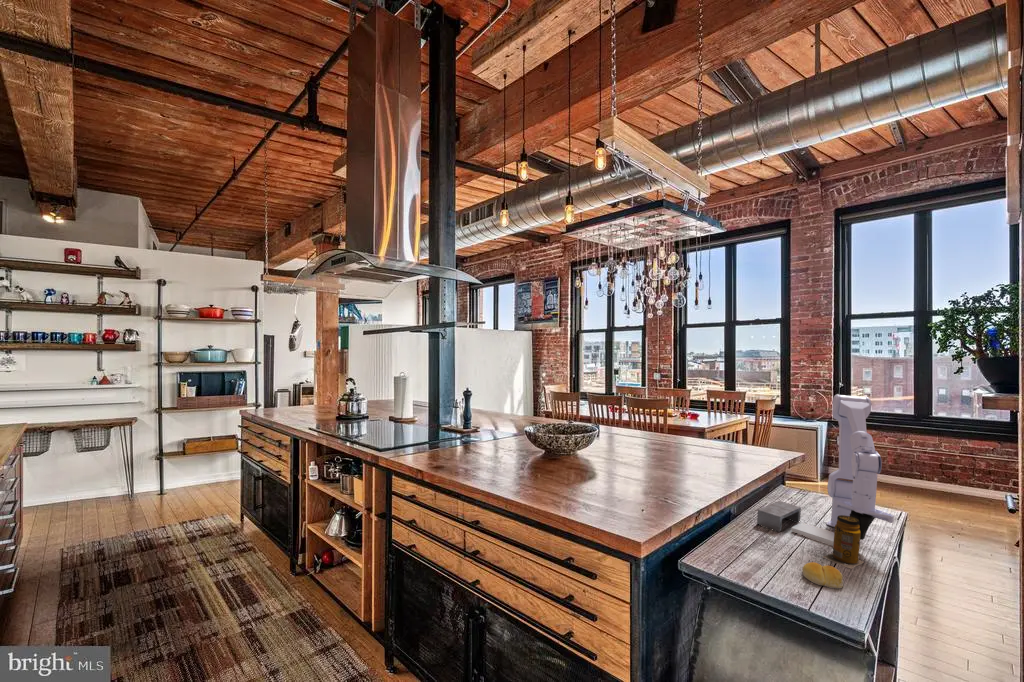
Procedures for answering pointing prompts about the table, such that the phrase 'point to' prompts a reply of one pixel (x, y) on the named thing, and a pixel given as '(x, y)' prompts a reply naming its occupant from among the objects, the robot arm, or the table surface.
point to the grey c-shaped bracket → (777, 515)
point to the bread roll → (823, 575)
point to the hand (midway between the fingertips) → (860, 538)
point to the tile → (814, 533)
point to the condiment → (846, 542)
